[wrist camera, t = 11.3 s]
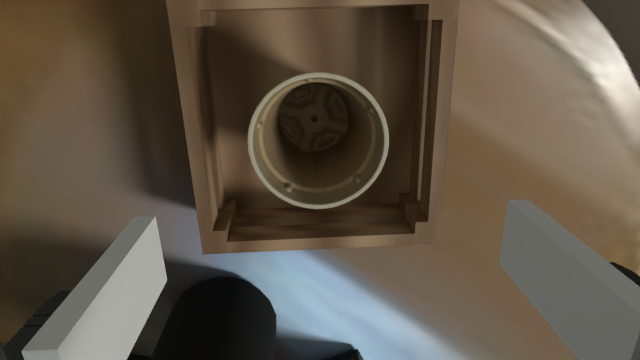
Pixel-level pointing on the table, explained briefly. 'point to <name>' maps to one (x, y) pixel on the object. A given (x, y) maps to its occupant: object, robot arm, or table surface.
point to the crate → (306, 57)
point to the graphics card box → (349, 356)
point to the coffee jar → (219, 323)
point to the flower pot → (318, 140)
